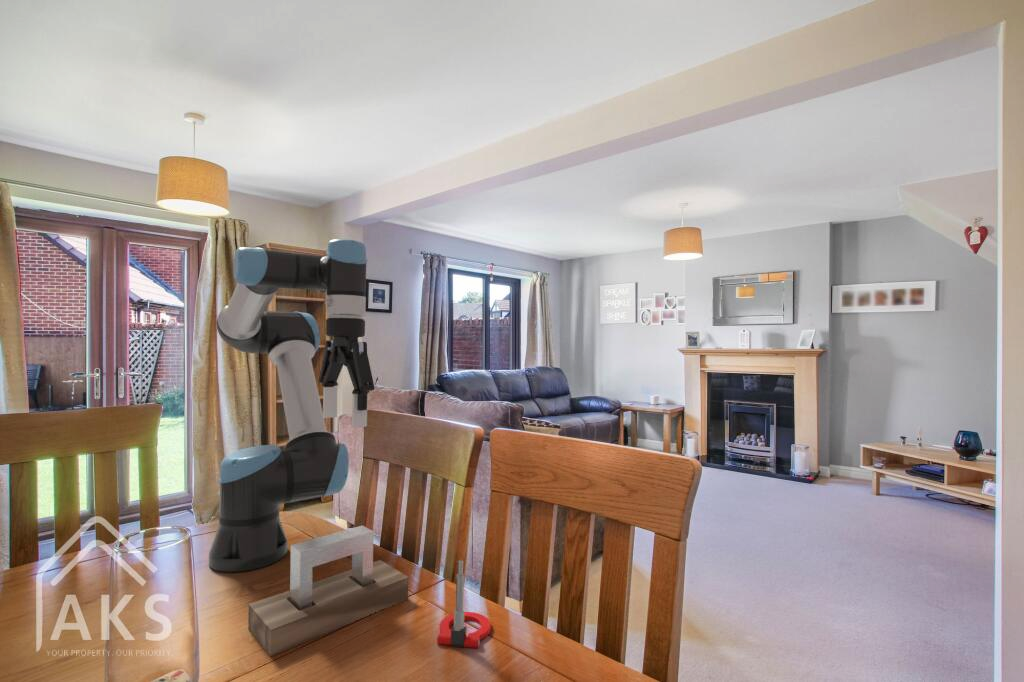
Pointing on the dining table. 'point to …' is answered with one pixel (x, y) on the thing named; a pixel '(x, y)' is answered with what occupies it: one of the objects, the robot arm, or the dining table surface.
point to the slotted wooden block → (324, 608)
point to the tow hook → (462, 621)
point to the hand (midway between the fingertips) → (344, 422)
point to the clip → (328, 550)
